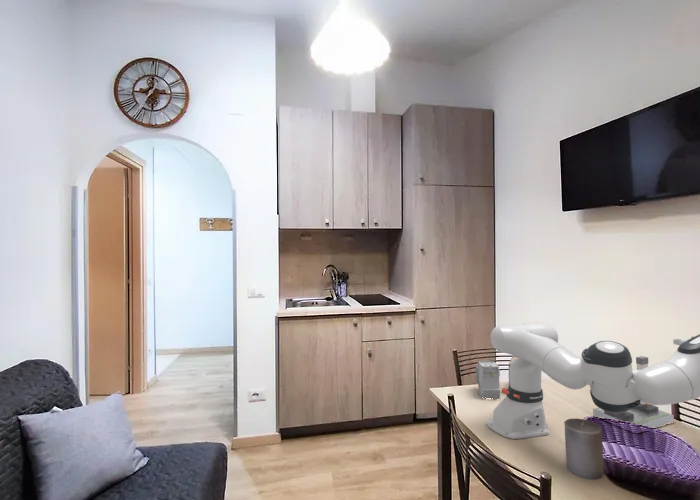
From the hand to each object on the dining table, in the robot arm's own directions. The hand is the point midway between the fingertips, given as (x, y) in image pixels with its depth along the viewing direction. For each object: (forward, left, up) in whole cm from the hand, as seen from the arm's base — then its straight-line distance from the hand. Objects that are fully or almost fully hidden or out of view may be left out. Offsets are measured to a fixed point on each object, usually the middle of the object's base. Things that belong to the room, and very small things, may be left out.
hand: (683, 340), depth 131 cm
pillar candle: (-53, 0, -34) cm, 63 cm away
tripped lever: (+2, +15, -28) cm, 32 cm away
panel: (-5, +15, -34) cm, 37 cm away
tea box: (-21, +54, -34) cm, 67 cm away
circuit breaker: (-37, +59, -34) cm, 77 cm away
